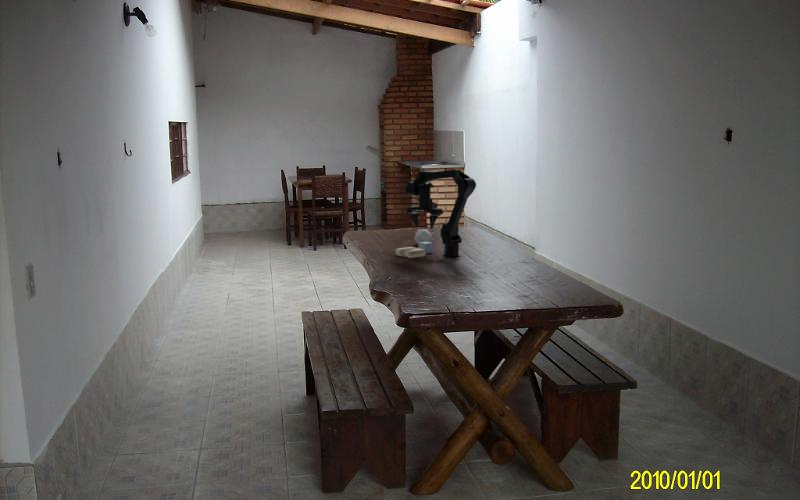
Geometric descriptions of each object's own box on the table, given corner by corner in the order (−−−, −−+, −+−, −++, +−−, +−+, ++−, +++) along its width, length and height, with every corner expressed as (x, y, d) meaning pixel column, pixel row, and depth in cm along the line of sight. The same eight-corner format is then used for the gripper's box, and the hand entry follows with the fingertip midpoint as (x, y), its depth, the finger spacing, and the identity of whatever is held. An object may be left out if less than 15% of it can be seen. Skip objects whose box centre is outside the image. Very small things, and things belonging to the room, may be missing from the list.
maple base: (425, 255, 352) (425, 249, 351) (410, 258, 345) (410, 251, 344) (410, 252, 359) (411, 246, 358) (396, 254, 352) (396, 248, 351)
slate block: (432, 252, 361) (432, 242, 360) (425, 253, 358) (425, 243, 357) (425, 251, 365) (425, 241, 364) (418, 252, 361) (418, 242, 361)
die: (427, 248, 378) (436, 232, 380) (413, 239, 377) (422, 223, 380) (424, 251, 386) (432, 235, 389) (409, 242, 385) (418, 226, 388)
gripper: (449, 196, 359) (449, 228, 361) (419, 194, 371) (419, 225, 373) (436, 198, 350) (435, 230, 353) (405, 195, 362) (405, 227, 364)
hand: (424, 227), depth 361 cm, fingers open, 9 cm apart
